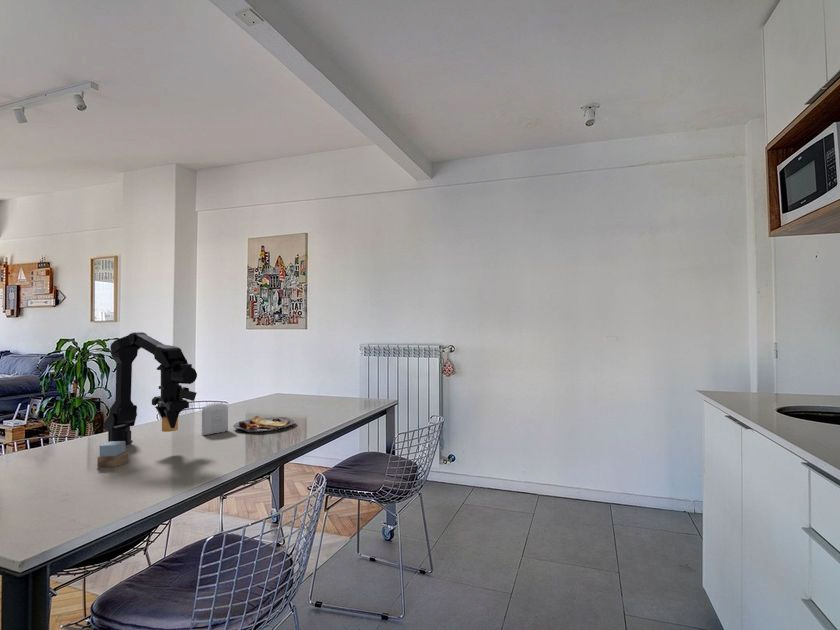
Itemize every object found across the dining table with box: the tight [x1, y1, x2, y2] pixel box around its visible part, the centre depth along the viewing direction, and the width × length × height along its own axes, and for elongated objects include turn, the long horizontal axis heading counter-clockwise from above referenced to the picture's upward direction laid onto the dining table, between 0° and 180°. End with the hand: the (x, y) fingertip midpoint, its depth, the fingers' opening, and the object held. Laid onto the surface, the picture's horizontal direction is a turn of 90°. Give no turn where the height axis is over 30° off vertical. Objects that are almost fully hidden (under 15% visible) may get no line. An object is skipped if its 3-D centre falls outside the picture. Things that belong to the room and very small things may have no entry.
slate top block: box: [99, 441, 126, 457], centre depth 142 cm, size 5×5×4 cm
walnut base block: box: [96, 450, 129, 468], centre depth 142 cm, size 6×6×4 cm
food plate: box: [233, 415, 296, 433], centre depth 191 cm, size 25×23×4 cm
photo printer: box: [201, 402, 229, 436], centre depth 182 cm, size 10×4×12 cm, turn 134°
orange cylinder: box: [161, 417, 179, 433], centre depth 155 cm, size 5×5×4 cm
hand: (170, 426), depth 155 cm, fingers closed on orange cylinder, 5 cm apart
